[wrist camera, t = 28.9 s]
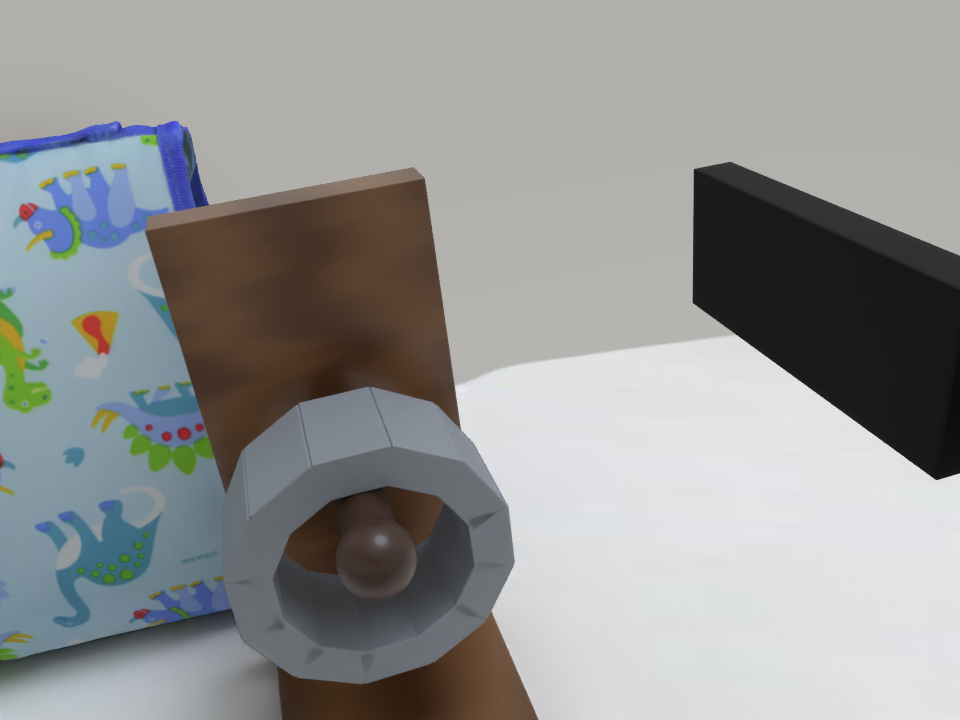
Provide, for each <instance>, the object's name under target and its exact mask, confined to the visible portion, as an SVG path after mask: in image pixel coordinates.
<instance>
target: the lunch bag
mask: <svg viewBox="0 0 960 720" xmlns="http://www.w3.org/2000/svg"><path fill="white" fill-rule="evenodd" d="M208 205H209V204H208V201H207V198H206V196H205V193H204V190H203V187H202V184H201V181H200V177H199V173H198V167H197V163H196V156H195V153H194V148H193V143H192V138H191V135H190V133H189V131H188V128H187V127H182V126H181V125H180V124H179V122H177V121H172V122H169V123H166V124H164V125H158V126H157V127H149V126H143V125H133V126H129V127H125V128H122V127H121V124H120V123H119V122H117V121H115V122H112V123H109V124H102V125H94V126H90V127H87V128H85V129H83V130H80V131H78V132H75V133H71V134H66V135H62V136H53V137H46V138H39V139H30V140H19V141H10V142H4V143H0V462H1V466H0V660H11V659H17V658H22V657H26V656H29V655H32V654H36V653H41V652H45V651H50V650H54V649H59V648H63V647H67V646H72V645H76V644H80V643H84V642H88V641H92V640H95V639H99V638H103V637H107V636H112V635H116V634H121V633H125V632H129V631H134V630H138V629H142V628H146V627H151V626H155V625H160V624H164V623H169V622H173V621H178V620H182V619H187V618H192V617H196V616H201V615H205V614H210V613H214V612H219V611H223V610H228V609H232V608H231V605H230V602H229V599H228V596H227V593H226V590H225V587H224V576H223V546H222V517H221V507H222V505H223V502H224V499H225V496H226V494H225V491H224V487H223V484H222V481H221V478H220V474H219V471H218V468H217V465H216V461H215V458H214V455H213V452H212V448H211V445H210V442H209V439H208V435H207V432H206V429H205V426H204V422H203V419H202V416H201V413H200V409H199V406H198V403H197V400H196V396H195V393H194V390H193V387H192V383H191V380H190V377H189V374H188V370H187V367H186V364H185V361H184V357H183V354H182V351H181V348H180V344H179V341H178V338H177V335H176V331H175V328H174V325H173V322H172V318H171V315H170V312H169V309H168V305H167V302H166V299H165V296H164V292H163V289H162V286H161V283H160V279H159V276H158V273H157V270H156V266H155V263H154V260H153V257H152V253H151V250H150V247H149V244H148V240H147V237H146V234H145V228H146V224H147V219H148V217H149V216H154V215H160V214H165V213H171V212H176V211H181V210H187V209H192V208H198V207H203V206H208Z"/></svg>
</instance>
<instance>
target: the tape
mask: <svg viewBox="0 0 960 720" xmlns="http://www.w3.org/2000/svg"><path fill="white" fill-rule="evenodd" d="M385 486H390V487H395V488H400V489H405V490H410V491H415V492H420V493H425V494H430V495H435V496H438V497H439V498H440V499H441V500H442V501H443V502H444V504H443V507H442V509H441V511H440V513H439V515H438V518H437V520H436V522H435V524H434V527H433V529H432V531H431V533H430V536H429V537H428V538H427V539H425V540H424V541H423V542H422V543H420V544H419V545H418V546H417V547H416V549H417V567H416V571H415V574H414V576H413V578H412V580H411V581H410V583H409V584H408V586H407V587H406V588H405V589H404V590H402V591H401V592H400V593H399V594H397V595H395V596H394V597H391V598H389V599H385V600H380V601H371V600H366V599H362V598H360V597H358V596H356V595H354V594H353V593H351V592H350V591H349V590H348V589H347V588H346V587H345V586H344V585H343V583H342V581H341V580H340V578H339V575H333V574H326V573H320V572H313V571H307V570H305V569H304V568H303V567H302V566H300V565H299V564H298V563H297V562H295V561H294V560H293V559H291V558H290V557H289V556H288V555H286V554H285V553H284V552H283V551H284V549H285V546H286V544H287V541H288V538H289V536H290V534H291V533H292V532H294V531H295V530H296V529H297V528H298V527H300V526H301V525H302V524H303V523H305V522H306V521H307V520H308V519H309V518H311V517H312V516H313V515H314V514H316V513H317V512H318V511H319V510H320V509H322V508H323V507H324V506H325V505H327V504H328V503H329V502H330V501H331V500H335V499H339V498H343V497H346V496H350V495H354V494H358V493H362V492H366V491H370V490H373V489H377V488H381V487H385ZM221 517H222V546H223V576H224V587H225V590H226V593H227V596H228V599H229V602H230V605H231V608H232V611H233V614H234V617H235V620H236V623H237V627H238V630H239V633H240V636H241V639H242V640H243V642H244V643H245V644H247V645H248V646H250V647H251V648H252V649H254V650H255V651H257V652H258V653H260V654H261V655H263V656H264V657H266V658H267V659H269V660H270V661H272V662H273V663H274V664H276V665H277V666H279V667H280V668H282V669H283V670H285V671H286V672H288V673H289V674H291V675H292V676H293V677H295V676H296V677H297V678H304V679H314V680H324V681H335V682H345V683H355V684H364V683H365V684H367V683H370V682H373V681H377V680H380V679H383V678H386V677H390V676H393V675H396V674H399V673H403V672H406V671H409V670H412V669H416V668H419V667H422V666H426V665H429V664H431V663H432V662H433V663H434V662H435V661H437V660H438V659H439V658H440V657H442V656H443V655H444V654H446V653H447V652H448V651H449V650H451V649H452V648H453V647H454V646H456V645H457V644H458V643H459V642H461V641H462V640H463V639H464V638H466V637H467V636H468V635H469V634H471V633H472V632H473V631H474V630H476V629H477V628H478V627H479V626H481V625H482V624H483V623H484V622H486V619H487V618H488V617H489V615H490V613H491V611H492V608H493V606H494V604H495V602H496V600H497V598H498V596H499V594H500V592H501V590H502V588H503V586H504V584H505V582H506V580H507V578H508V576H509V574H510V572H511V570H512V568H513V566H514V562H515V560H514V551H513V543H512V534H511V526H510V517H509V508H508V505H507V503H506V501H505V500H504V498H503V496H502V494H501V492H500V490H499V489H498V487H497V485H496V483H495V481H494V480H493V478H492V476H491V474H490V472H489V470H488V469H487V467H486V465H485V463H484V461H483V459H482V458H481V456H480V454H479V452H478V450H477V448H476V447H475V445H474V443H473V442H472V441H471V440H470V439H469V438H468V437H467V436H466V435H465V434H464V433H463V432H462V431H461V430H460V429H459V428H458V426H457V425H456V424H455V423H454V422H453V421H452V420H451V419H450V418H449V417H448V416H447V415H446V414H445V413H444V412H443V411H442V410H441V409H440V408H439V407H438V406H437V405H436V404H434V403H433V402H430V401H426V400H422V399H418V398H414V397H410V396H406V395H402V394H398V393H394V392H390V391H386V390H382V389H378V388H374V387H370V388H369V387H365V388H361V389H356V390H352V391H348V392H344V393H339V394H335V395H331V396H327V397H322V398H318V399H314V400H310V401H305V402H301V403H299V405H296V406H294V407H293V408H292V409H291V410H290V411H288V412H287V413H286V414H285V415H284V416H282V417H281V418H280V419H279V420H278V421H276V422H275V423H274V424H273V425H272V426H270V427H269V428H268V429H267V430H266V431H264V432H263V433H262V434H261V435H259V436H258V437H257V438H256V439H255V440H253V441H252V442H251V443H250V444H249V445H247V446H246V447H245V448H244V450H242V451H241V454H240V457H239V460H238V462H237V465H236V468H235V471H234V474H233V477H232V479H231V482H230V485H229V488H228V491H227V493H226V496H225V499H224V502H223V505H222V507H221Z"/></svg>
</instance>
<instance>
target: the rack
mask: <svg viewBox="0 0 960 720" xmlns="http://www.w3.org/2000/svg"><path fill="white" fill-rule="evenodd" d="M145 234H146V237H147V240H148V244H149V247H150V250H151V253H152V257H153V260H154V263H155V266H156V270H157V273H158V276H159V279H160V283H161V286H162V289H163V292H164V296H165V299H166V302H167V305H168V309H169V312H170V315H171V318H172V322H173V325H174V328H175V331H176V335H177V338H178V341H179V344H180V348H181V351H182V354H183V357H184V361H185V364H186V367H187V370H188V374H189V377H190V380H191V383H192V387H193V390H194V393H195V396H196V400H197V403H198V406H199V409H200V413H201V416H202V419H203V422H204V426H205V429H206V432H207V435H208V439H209V442H210V445H211V448H212V452H213V455H214V458H215V461H216V465H217V468H218V471H219V474H220V478H221V481H222V484H223V487H224V491H225V494H226V493H227V491H228V488H229V485H230V482H231V479H232V477H233V474H234V471H235V468H236V465H237V462H238V460H239V457H240V454H241V451H242V450H244V448H245V447H246V446H247V445H249V444H250V443H251V442H252V441H253V440H255V439H256V438H257V437H258V436H259V435H261V434H262V433H263V432H264V431H266V430H267V429H268V428H269V427H270V426H272V425H273V424H274V423H275V422H276V421H278V420H279V419H280V418H281V417H282V416H284V415H285V414H286V413H287V412H288V411H290V410H291V409H292V408H293V407H294V406H296V405H299V403H301V402H305V401H310V400H314V399H318V398H322V397H327V396H331V395H335V394H339V393H344V392H348V391H352V390H356V389H361V388H365V387H369V388H370V387H374V388H378V389H382V390H386V391H390V392H394V393H398V394H402V395H406V396H410V397H414V398H418V399H422V400H426V401H430V402H433V403H434V404H436V405H437V406H438V407H439V408H440V409H441V410H442V411H443V412H444V413H445V414H446V415H447V416H448V417H449V418H450V419H451V420H452V421H453V422H454V423H455V424H456V425H457V426H458V428H459V429H460V430H461V427H460V420H459V413H458V406H457V399H456V392H455V385H454V378H453V371H452V364H451V358H450V350H449V344H448V337H447V330H446V323H445V316H444V309H443V302H442V295H441V288H440V281H439V274H438V267H437V260H436V254H435V247H434V239H433V233H432V225H431V218H430V212H429V205H428V198H427V191H426V184H425V178H424V177H423V176H422V175H421V174H420V173H419V172H418V171H417V170H416V169H415V168H414V167H413V168H408V169H402V170H397V171H391V172H386V173H381V174H376V175H370V176H364V177H359V178H354V179H348V180H343V181H338V182H332V183H327V184H321V185H316V186H311V187H305V188H300V189H294V190H289V191H284V192H278V193H273V194H268V195H262V196H258V197H251V198H247V199H241V200H235V201H230V202H224V203H219V204H214V205H208V206H203V207H198V208H192V209H187V210H181V211H176V212H171V213H165V214H160V215H154V216H149V217H148V219H147V224H146V228H145ZM443 504H444V502H443V501H442V500H441V499H440V498H439V497H438V496H435V495H430V494H425V493H420V492H415V491H410V490H405V489H400V488H395V487H390V486H385V487H381V488H377V489H373V490H370V491H366V492H362V493H358V494H354V495H350V496H346V497H343V498H339V499H335V500H331V501H330V502H329V503H328V504H327V505H325V506H324V507H323V508H322V509H320V510H319V511H318V512H317V513H316V514H314V515H313V516H312V517H311V518H309V519H308V520H307V521H306V522H305V523H303V524H302V525H301V526H300V527H298V528H297V529H296V530H295V531H294V532H292V533H291V534H290V536H289V538H288V541H287V544H286V546H285V549H284V551H283V552H284V553H285V554H286V555H288V556H289V557H290V558H291V559H293V560H294V561H295V562H297V563H298V564H299V565H300V566H302V567H303V568H304V569H305V570H307V571H313V572H320V573H326V574H333V575H339V578H340V580H341V581H342V583H343V585H344V586H345V587H346V588H347V589H348V590H349V591H350V592H351V593H353V594H354V595H356V596H358V597H360V598H362V599H366V600H371V601H380V600H385V599H389V598H391V597H394V596H395V595H397V594H399V593H400V592H401V591H402V590H404V589H405V588H406V587H407V586H408V584H409V583H410V581H411V580H412V578H413V576H414V574H415V571H416V567H417V549H416V547H417V546H418V545H419V544H420V543H422V542H423V541H424V540H425V539H427V538H428V537H429V536H430V533H431V531H432V529H433V527H434V524H435V522H436V520H437V518H438V515H439V513H440V511H441V509H442V507H443ZM277 673H278V682H279V692H280V702H281V712H282V720H538V718H537V715H536V713H535V711H534V708H533V706H532V704H531V701H530V699H529V697H528V695H527V692H526V690H525V688H524V685H523V683H522V681H521V678H520V676H519V674H518V672H517V669H516V667H515V665H514V662H513V660H512V658H511V655H510V653H509V651H508V649H507V646H506V644H505V642H504V639H503V637H502V635H501V632H500V630H499V628H498V626H497V623H496V621H495V619H494V616H493V614H492V612H491V613H490V615H489V617H488V618H487V619H486V622H484V623H483V624H482V625H481V626H479V627H478V628H477V629H476V630H474V631H473V632H472V633H471V634H469V635H468V636H467V637H466V638H464V639H463V640H462V641H461V642H459V643H458V644H457V645H456V646H454V647H453V648H452V649H451V650H449V651H448V652H447V653H446V654H444V655H443V656H442V657H440V658H439V659H438V660H437V661H435V662H434V663H433V662H432V663H431V664H429V665H426V666H422V667H419V668H416V669H412V670H409V671H406V672H403V673H399V674H396V675H393V676H390V677H386V678H383V679H380V680H377V681H373V682H370V683H367V684H365V683H364V684H355V683H345V682H335V681H324V680H314V679H304V678H297V677H296V676H295V677H293V676H292V675H291V674H289V673H288V672H286V671H285V670H283V669H282V668H280V667H279V666H277Z"/></svg>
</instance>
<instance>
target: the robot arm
mask: <svg viewBox="0 0 960 720" xmlns="http://www.w3.org/2000/svg"><path fill="white" fill-rule="evenodd" d="M693 303H694V304H695V305H696V306H698V307H699V308H701V309H702V310H703V311H705V312H706V313H707V314H709V315H710V316H711V317H713V318H714V319H716V320H717V321H718V322H720V323H721V324H723V325H724V326H725V327H727V328H728V329H729V330H731V331H732V332H733V333H735V334H736V335H738V336H739V337H740V338H742V339H743V340H744V341H746V342H747V343H749V344H750V345H751V346H753V347H754V348H755V349H757V350H758V351H760V352H761V353H762V354H764V355H765V356H766V357H768V358H769V359H771V360H772V361H773V362H775V363H776V364H777V365H779V366H780V367H782V368H783V369H784V370H786V371H787V372H788V373H790V374H791V375H793V376H794V377H795V378H797V379H798V380H799V381H801V382H802V383H804V384H805V385H806V386H808V387H809V388H810V389H812V390H813V391H814V392H816V393H817V394H819V395H820V396H821V397H823V398H824V399H825V400H827V401H828V402H830V403H831V404H832V405H834V406H835V407H836V408H838V409H839V410H841V411H842V412H843V413H845V414H846V415H847V416H849V417H850V418H852V419H853V420H854V421H856V422H857V423H858V424H860V425H861V426H863V427H864V428H865V429H867V430H868V431H869V432H871V433H872V434H874V435H875V436H876V437H878V438H879V439H880V440H882V441H883V442H885V443H886V444H887V445H889V446H890V447H891V448H893V449H894V450H896V451H897V452H898V453H900V454H901V455H902V456H904V457H905V458H907V459H908V460H909V461H911V462H912V463H913V464H915V465H916V466H918V467H919V468H920V469H922V470H923V471H924V472H926V473H927V474H929V475H930V476H931V477H933V478H934V479H935V480H939V479H942V478H946V477H949V476H952V475H956V474H959V473H960V256H959V255H956V254H954V253H952V252H949V251H947V250H944V249H942V248H939V247H937V246H934V245H932V244H930V243H927V242H925V241H922V240H920V239H917V238H915V237H912V236H910V235H907V234H905V233H903V232H900V231H898V230H895V229H893V228H891V227H888V226H886V225H883V224H880V223H878V222H876V221H873V220H871V219H868V218H866V217H864V216H861V215H859V214H856V213H854V212H851V211H849V210H847V209H844V208H841V207H839V206H837V205H834V204H832V203H829V202H827V201H824V200H822V199H820V198H817V197H815V196H812V195H810V194H808V193H805V192H803V191H800V190H798V189H795V188H793V187H790V186H788V185H786V184H783V183H780V182H778V181H775V180H773V179H771V178H768V177H766V176H764V175H761V174H759V173H756V172H754V171H751V170H749V169H746V168H744V167H742V166H739V165H737V164H734V163H732V162H728V163H723V164H717V165H712V166H707V167H702V168H697V169H694V216H693ZM0 466H1V462H0Z"/></svg>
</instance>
